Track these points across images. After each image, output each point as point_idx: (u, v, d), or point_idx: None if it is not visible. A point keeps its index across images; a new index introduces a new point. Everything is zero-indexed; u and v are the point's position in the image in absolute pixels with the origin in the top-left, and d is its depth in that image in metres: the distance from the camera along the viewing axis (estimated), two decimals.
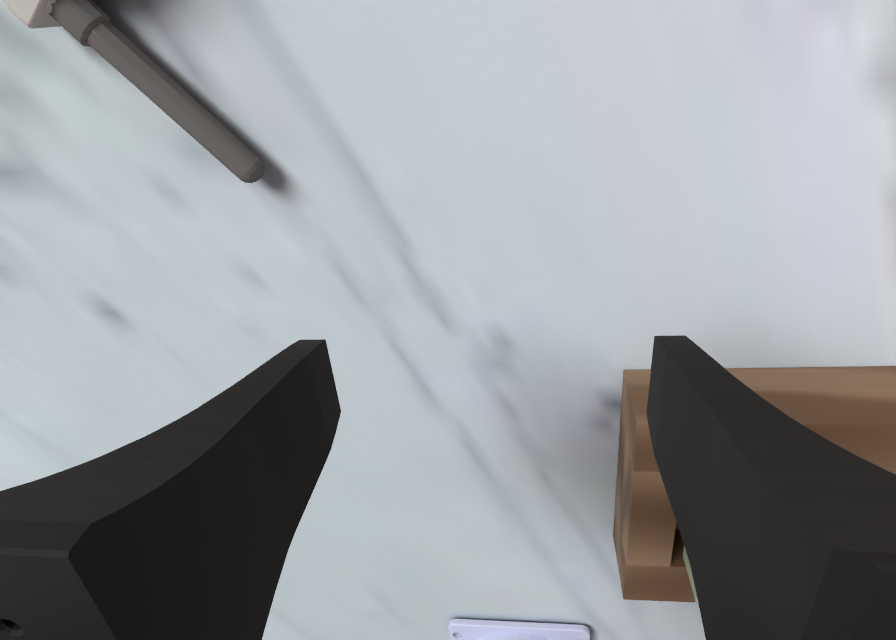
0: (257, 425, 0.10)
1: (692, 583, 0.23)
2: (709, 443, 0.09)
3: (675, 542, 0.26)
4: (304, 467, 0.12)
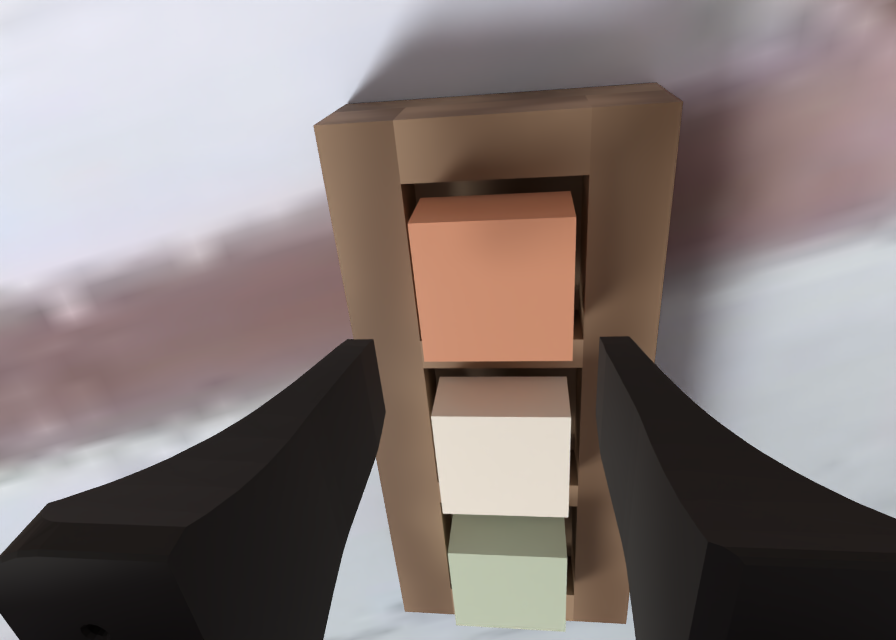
0: (318, 426, 0.10)
1: None
2: (636, 442, 0.09)
3: (572, 563, 0.26)
4: (356, 468, 0.12)
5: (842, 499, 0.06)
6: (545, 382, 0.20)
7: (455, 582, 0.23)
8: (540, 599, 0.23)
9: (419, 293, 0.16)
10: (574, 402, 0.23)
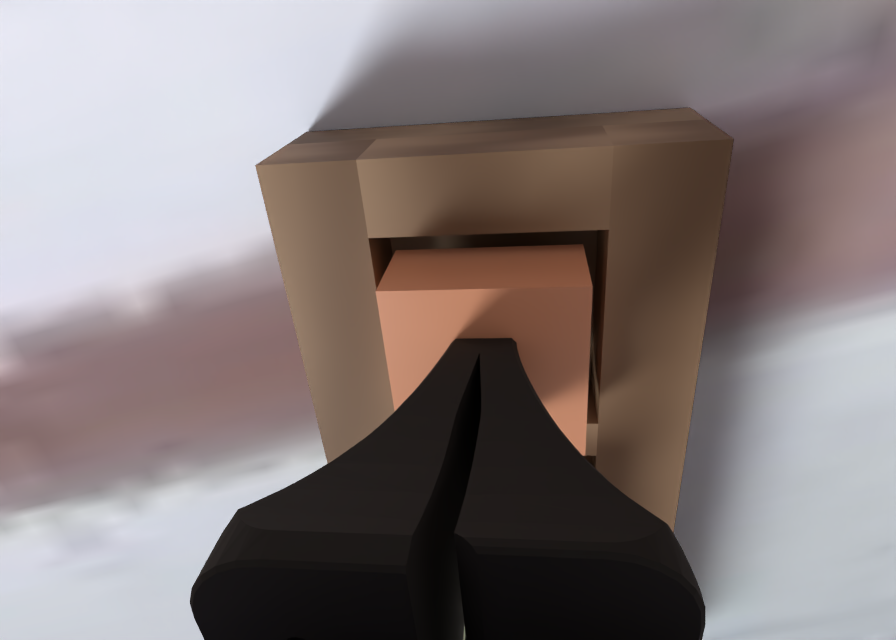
0: (459, 428, 0.10)
1: None
2: None
3: None
4: None
5: (617, 493, 0.07)
6: None
7: None
8: None
9: (393, 374, 0.13)
10: None
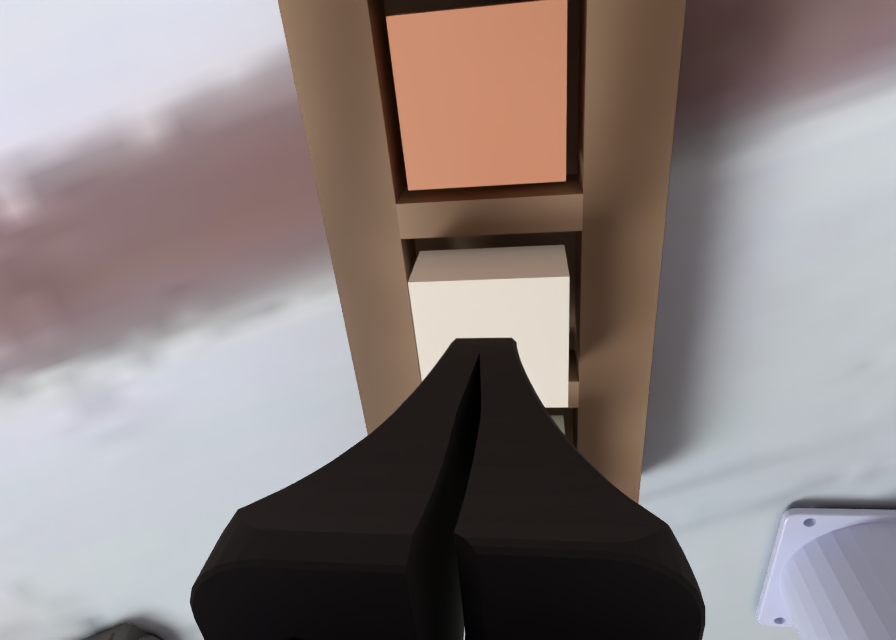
0: (459, 427, 0.10)
1: None
2: None
3: None
4: None
5: (617, 493, 0.07)
6: (540, 250, 0.17)
7: None
8: None
9: (400, 105, 0.15)
10: (573, 290, 0.20)
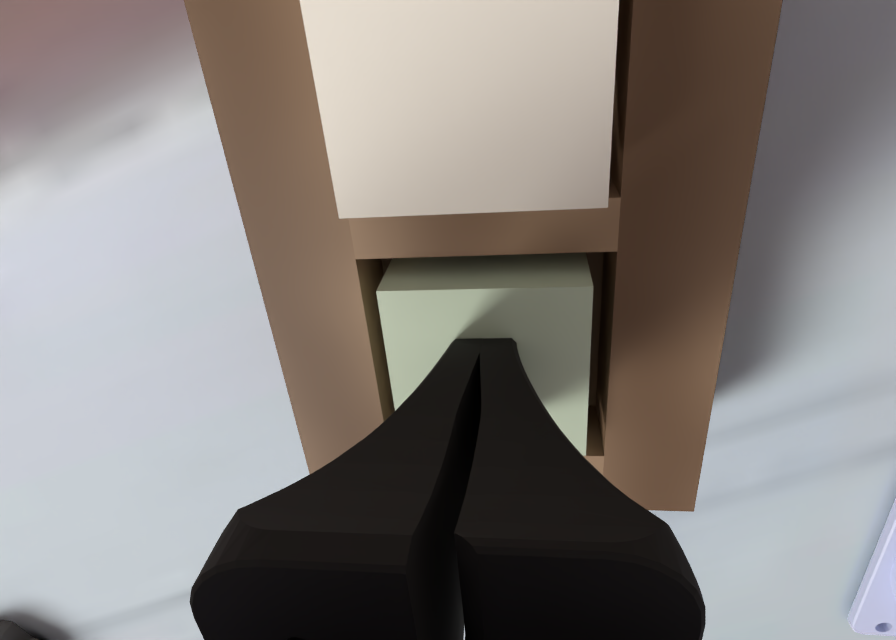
0: (459, 428, 0.10)
1: None
2: None
3: (599, 408, 0.15)
4: None
5: (617, 493, 0.07)
6: None
7: (394, 359, 0.13)
8: (544, 388, 0.13)
9: None
10: None
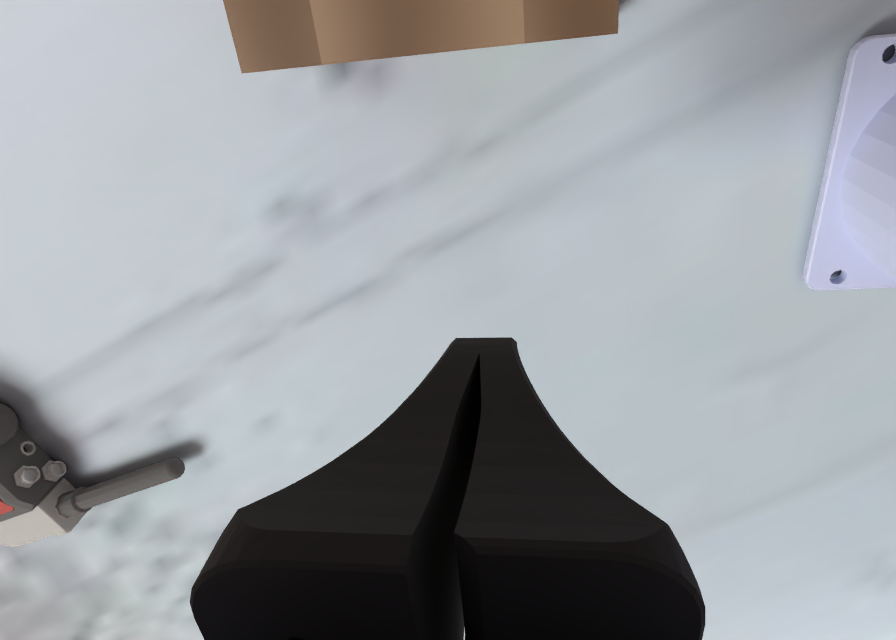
0: (459, 427, 0.10)
1: None
2: None
3: None
4: None
5: (617, 493, 0.07)
6: None
7: None
8: None
9: None
10: None
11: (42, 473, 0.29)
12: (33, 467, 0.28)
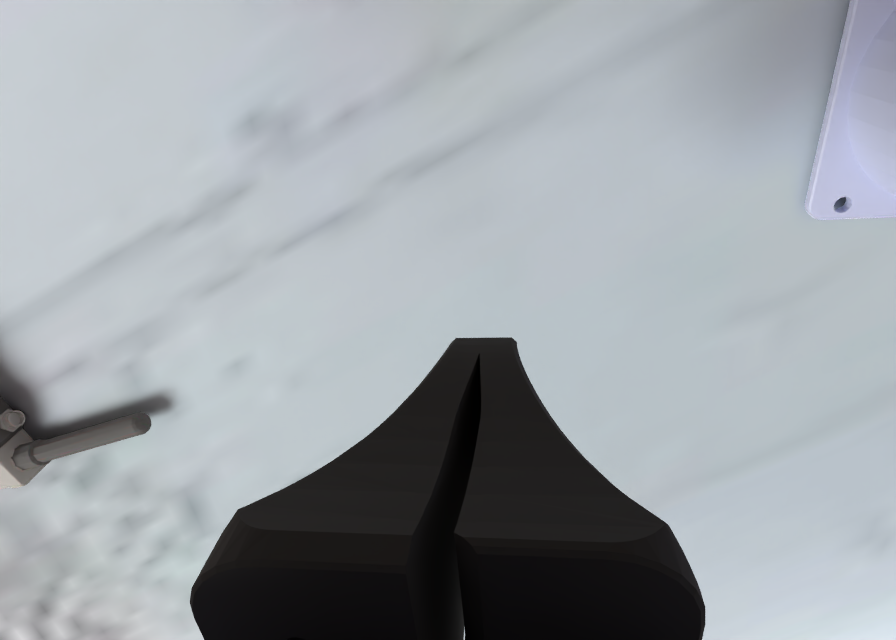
0: (459, 427, 0.10)
1: None
2: None
3: None
4: None
5: (617, 493, 0.07)
6: None
7: None
8: None
9: None
10: None
11: None
12: None
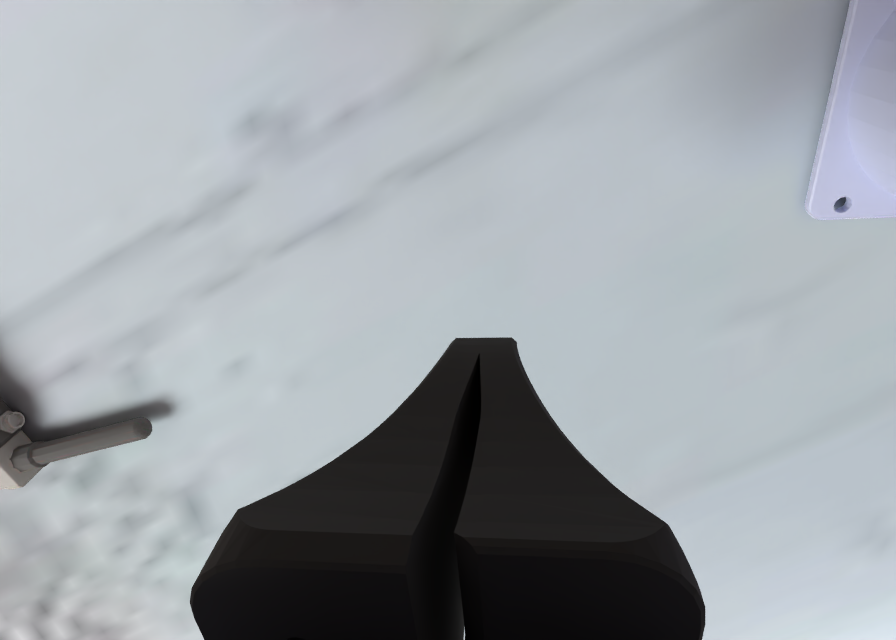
0: (459, 427, 0.10)
1: None
2: None
3: None
4: None
5: (617, 493, 0.07)
6: None
7: None
8: None
9: None
10: None
11: None
12: None
